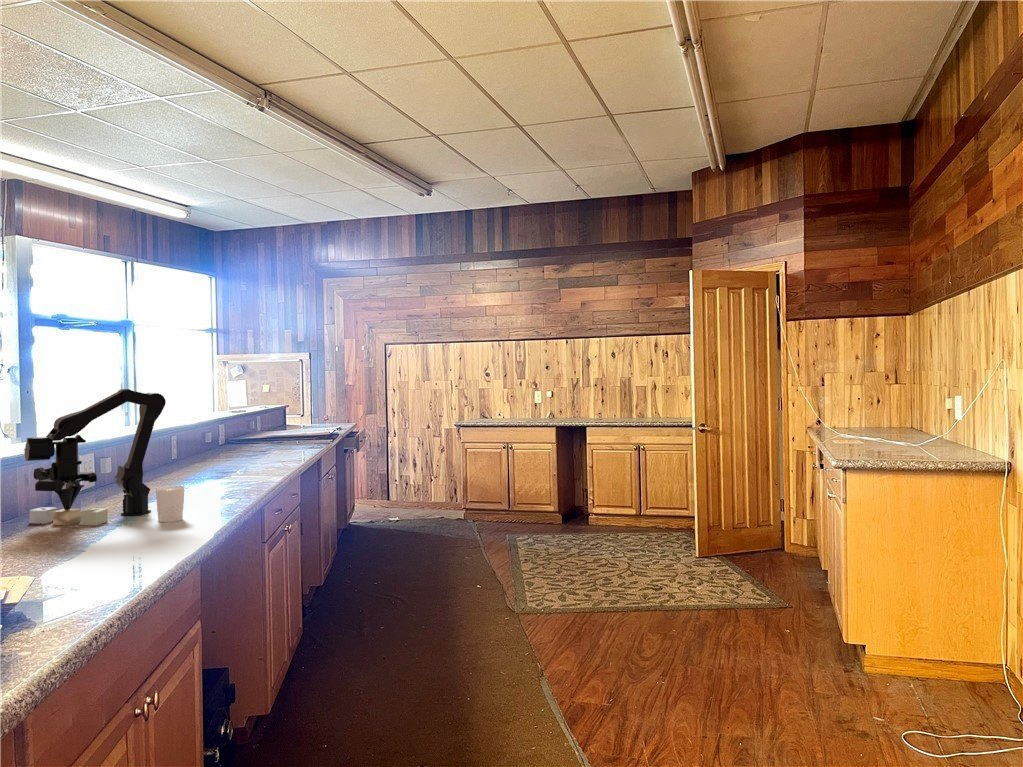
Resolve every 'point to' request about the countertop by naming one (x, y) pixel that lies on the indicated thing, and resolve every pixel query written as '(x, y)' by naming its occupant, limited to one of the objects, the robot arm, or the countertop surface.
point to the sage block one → (94, 516)
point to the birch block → (66, 516)
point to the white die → (42, 515)
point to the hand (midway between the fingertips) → (67, 509)
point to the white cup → (170, 503)
